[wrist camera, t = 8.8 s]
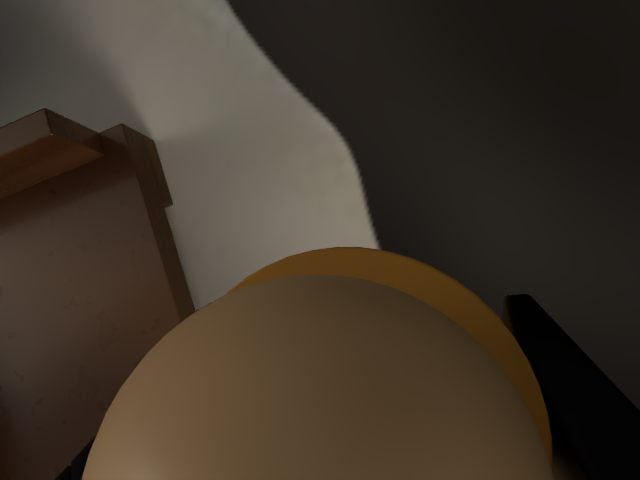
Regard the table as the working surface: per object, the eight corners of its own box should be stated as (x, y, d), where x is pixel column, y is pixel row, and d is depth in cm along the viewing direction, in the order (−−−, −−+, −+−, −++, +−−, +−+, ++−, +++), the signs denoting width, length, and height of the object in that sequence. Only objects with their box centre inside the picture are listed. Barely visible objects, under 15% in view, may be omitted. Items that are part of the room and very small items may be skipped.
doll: (478, 467, 14) (774, 1417, 2) (287, 440, 15) (-192, 999, 3) (489, 270, 14) (794, 205, 3) (302, 257, 15) (-81, 168, 4)
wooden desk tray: (318, 680, 20) (279, 832, 14) (43, 744, 21) (-84, 899, 16) (154, 139, 23) (70, 95, 17) (-74, 235, 24) (-215, 221, 19)
